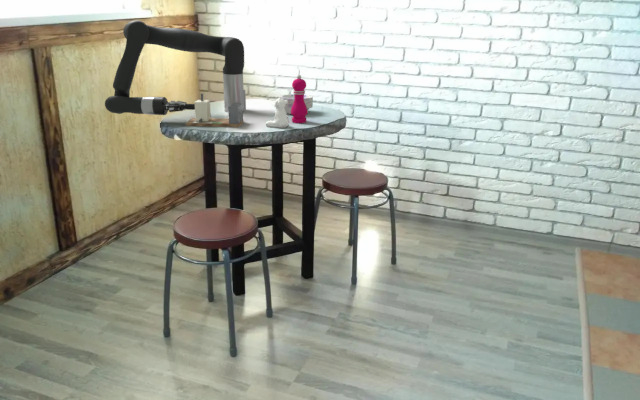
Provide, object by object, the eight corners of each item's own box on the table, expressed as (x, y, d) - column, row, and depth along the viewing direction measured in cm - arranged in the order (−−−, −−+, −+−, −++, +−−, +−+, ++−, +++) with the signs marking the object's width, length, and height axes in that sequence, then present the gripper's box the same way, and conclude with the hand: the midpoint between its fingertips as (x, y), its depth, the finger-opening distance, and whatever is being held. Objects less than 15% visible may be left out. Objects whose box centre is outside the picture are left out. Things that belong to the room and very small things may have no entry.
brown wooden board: (185, 125, 224) (185, 122, 224) (193, 120, 235) (193, 117, 234) (238, 127, 223) (238, 123, 223) (243, 121, 233) (243, 118, 233)
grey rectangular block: (228, 123, 223) (228, 106, 221) (234, 118, 233) (233, 102, 230) (238, 124, 223) (237, 107, 221) (243, 119, 233) (242, 102, 230)
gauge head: (193, 122, 223) (192, 95, 220) (199, 118, 231) (197, 92, 228) (205, 122, 223) (204, 96, 219) (210, 118, 231) (209, 92, 227)
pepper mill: (289, 123, 232) (289, 75, 225) (292, 119, 239) (292, 73, 232) (306, 123, 231) (306, 76, 224) (308, 120, 238) (309, 74, 231)
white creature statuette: (282, 123, 232) (282, 95, 228) (295, 126, 226) (295, 97, 222) (264, 126, 226) (264, 97, 222) (277, 130, 220) (277, 100, 216)
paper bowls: (308, 109, 263) (308, 93, 260) (315, 115, 249) (316, 98, 246) (277, 110, 259) (277, 93, 256) (283, 116, 245) (283, 99, 243)
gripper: (148, 99, 220) (190, 100, 219) (159, 94, 233) (198, 95, 232) (149, 117, 223) (191, 118, 222) (160, 111, 235) (200, 112, 234)
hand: (195, 106), depth 227 cm, fingers closed
